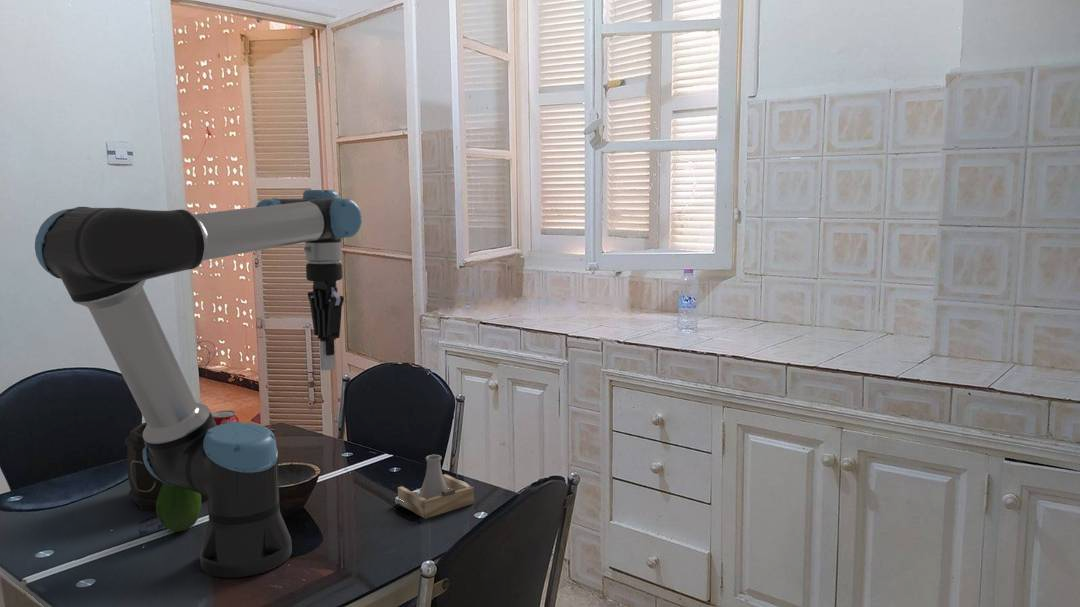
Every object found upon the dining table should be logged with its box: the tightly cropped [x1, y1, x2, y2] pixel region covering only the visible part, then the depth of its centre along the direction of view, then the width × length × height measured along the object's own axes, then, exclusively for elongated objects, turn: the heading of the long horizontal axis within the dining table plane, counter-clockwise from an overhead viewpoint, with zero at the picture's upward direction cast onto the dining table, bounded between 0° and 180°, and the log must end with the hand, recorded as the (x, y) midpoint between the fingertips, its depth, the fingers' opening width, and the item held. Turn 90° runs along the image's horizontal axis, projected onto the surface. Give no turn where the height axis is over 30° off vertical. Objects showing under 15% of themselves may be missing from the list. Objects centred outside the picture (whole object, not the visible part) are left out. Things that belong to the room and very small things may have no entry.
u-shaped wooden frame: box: [397, 473, 475, 520], centre depth 158 cm, size 11×12×4 cm
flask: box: [418, 454, 448, 499], centre depth 158 cm, size 7×7×10 cm
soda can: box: [211, 410, 240, 426], centre depth 184 cm, size 7×7×12 cm
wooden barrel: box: [124, 422, 208, 512], centre depth 162 cm, size 18×18×16 cm
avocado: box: [155, 483, 202, 533], centre depth 145 cm, size 8×8×12 cm
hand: (328, 369), depth 166 cm, fingers closed
